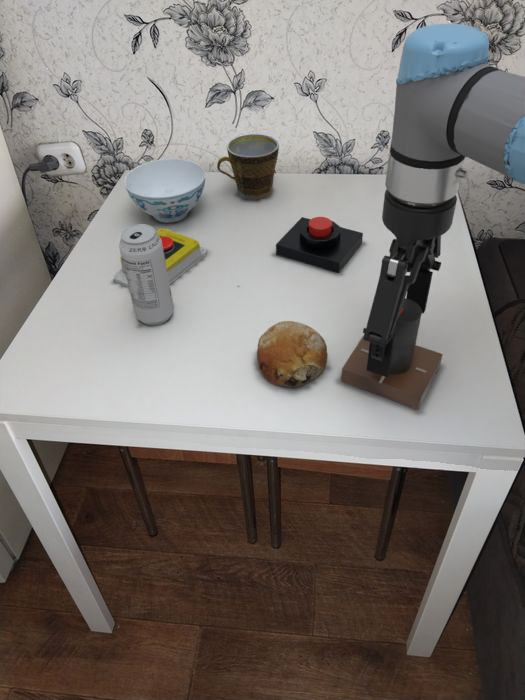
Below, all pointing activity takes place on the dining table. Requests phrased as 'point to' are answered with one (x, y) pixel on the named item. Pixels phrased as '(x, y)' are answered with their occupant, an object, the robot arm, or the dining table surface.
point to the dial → (405, 336)
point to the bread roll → (291, 354)
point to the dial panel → (393, 376)
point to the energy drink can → (146, 274)
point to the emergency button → (173, 255)
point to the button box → (319, 246)
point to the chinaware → (166, 187)
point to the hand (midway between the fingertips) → (397, 339)
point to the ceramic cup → (252, 164)
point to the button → (320, 227)
